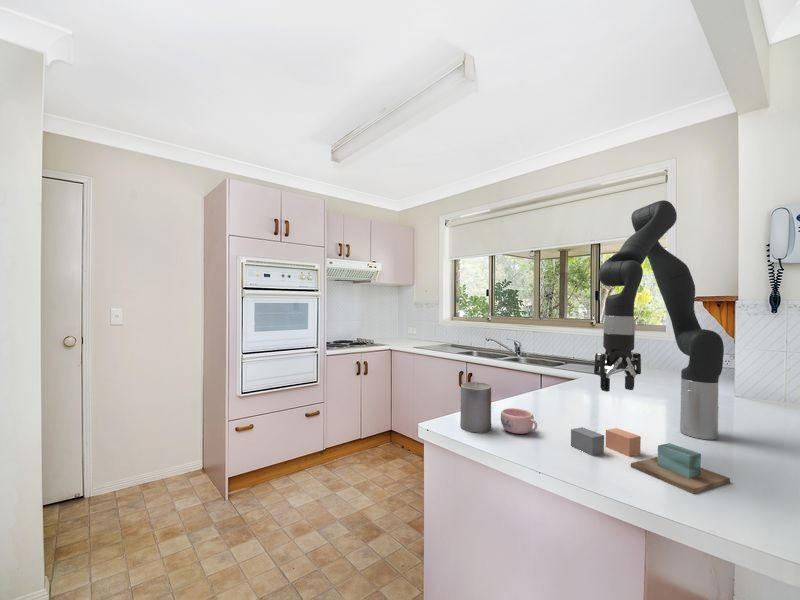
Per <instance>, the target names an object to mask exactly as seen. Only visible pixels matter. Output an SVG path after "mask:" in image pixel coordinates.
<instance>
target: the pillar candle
mask: <svg viewBox="0 0 800 600" xmlns="http://www.w3.org/2000/svg"><path fill="white" fill-rule="evenodd" d="M459 422H460V425H459V427H460V428H461V430H463V431H466V432H469V433H477V434H478V433H479V434H482V433H483V434H484V433H488V432H490V431H491V429H492V385H490V384H489V383H485V382H478V381H473V382H472V381H468V382H463V383H461V385H460V421H459Z"/></svg>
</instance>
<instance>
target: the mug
mask: <svg viewBox="0 0 800 600" xmlns="http://www.w3.org/2000/svg"><path fill="white" fill-rule="evenodd" d="M500 422H501V423H500V424H501V425H502V428H503V429H504V430H505V431H507V432H509V433H512V434H519V435H523V434H524V435H525V434H528V433H530V432H531V431H532V432H535V431H536V430H537V429H538V423H537V422H536V420H535V418H534V414H533V413H532V412H531V411H530V410H526V409H522V408H514V407H513V408H505V409H502V411H501V412H500Z"/></svg>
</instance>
